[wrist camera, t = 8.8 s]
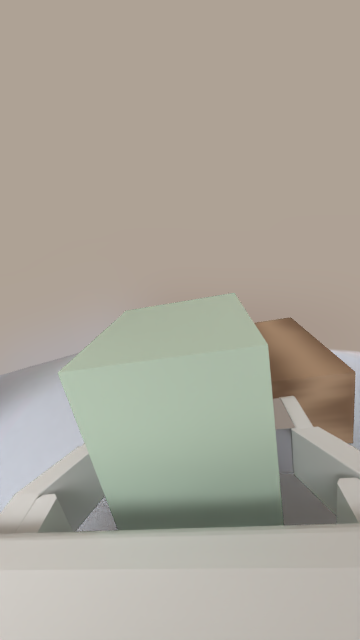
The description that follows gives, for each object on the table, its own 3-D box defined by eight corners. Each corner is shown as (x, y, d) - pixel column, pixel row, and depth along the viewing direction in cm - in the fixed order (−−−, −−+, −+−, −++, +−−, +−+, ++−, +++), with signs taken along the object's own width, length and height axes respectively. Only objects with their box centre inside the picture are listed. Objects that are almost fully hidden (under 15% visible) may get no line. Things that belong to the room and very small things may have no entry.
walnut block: (192, 455, 19) (178, 391, 17) (195, 375, 31) (187, 332, 29) (352, 443, 18) (355, 372, 16) (293, 363, 29) (290, 317, 27)
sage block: (161, 643, 8) (57, 372, 5) (176, 499, 13) (126, 310, 10) (294, 648, 8) (268, 344, 5) (259, 495, 13) (234, 292, 9)
